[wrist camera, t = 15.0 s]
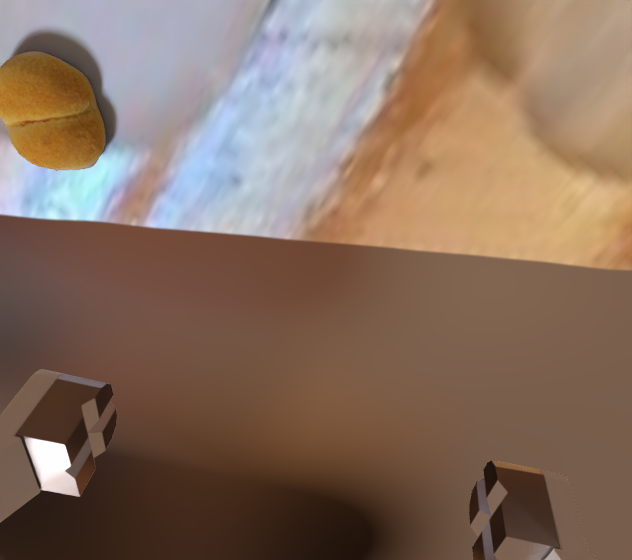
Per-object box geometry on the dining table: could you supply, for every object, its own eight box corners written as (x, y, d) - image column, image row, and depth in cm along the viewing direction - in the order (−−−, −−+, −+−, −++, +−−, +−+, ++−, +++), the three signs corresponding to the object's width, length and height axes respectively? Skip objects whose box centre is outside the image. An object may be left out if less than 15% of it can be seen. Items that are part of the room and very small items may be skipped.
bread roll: (83, 43, 38) (53, 57, 35) (122, 158, 43) (99, 179, 40) (-15, 52, 40) (-52, 66, 37) (34, 162, 45) (6, 183, 42)
